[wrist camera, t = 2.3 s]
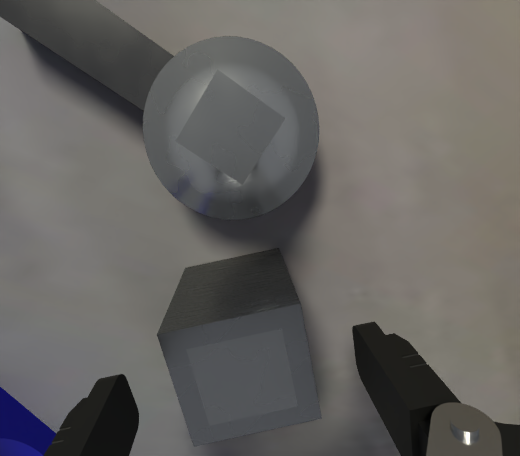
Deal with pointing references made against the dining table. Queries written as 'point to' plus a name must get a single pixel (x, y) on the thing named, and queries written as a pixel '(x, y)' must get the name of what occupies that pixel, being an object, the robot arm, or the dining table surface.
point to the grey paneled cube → (239, 349)
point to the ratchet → (194, 105)
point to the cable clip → (21, 430)
